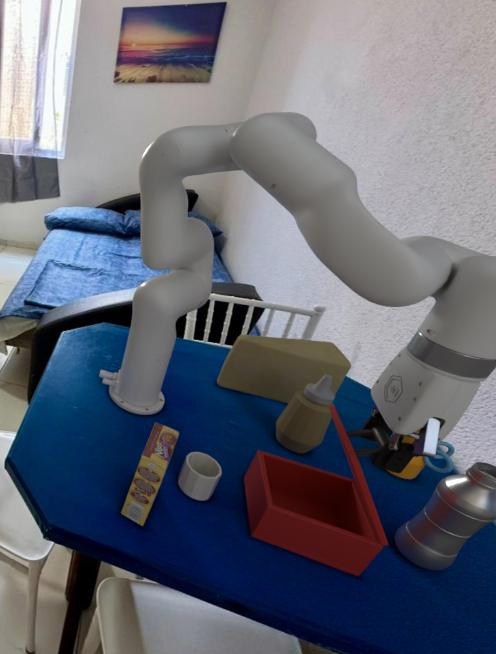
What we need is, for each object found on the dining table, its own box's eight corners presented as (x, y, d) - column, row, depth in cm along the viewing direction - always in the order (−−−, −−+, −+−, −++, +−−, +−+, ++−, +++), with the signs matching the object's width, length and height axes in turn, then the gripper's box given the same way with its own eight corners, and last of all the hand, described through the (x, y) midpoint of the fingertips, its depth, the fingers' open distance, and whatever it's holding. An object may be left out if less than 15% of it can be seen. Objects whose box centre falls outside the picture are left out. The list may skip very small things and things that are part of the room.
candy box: (145, 528, 69) (167, 467, 61) (120, 514, 71) (138, 454, 63) (158, 491, 75) (180, 431, 68) (135, 479, 77) (153, 420, 70)
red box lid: (352, 463, 56) (405, 461, 53) (328, 406, 66) (371, 401, 63) (381, 545, 59) (433, 547, 56) (354, 478, 69) (396, 476, 66)
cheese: (221, 396, 98) (241, 346, 91) (212, 372, 107) (230, 324, 100) (325, 416, 94) (355, 364, 86) (307, 389, 102) (334, 339, 95)
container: (177, 492, 75) (186, 471, 72) (178, 469, 80) (186, 447, 77) (212, 505, 73) (222, 483, 70) (211, 480, 77) (220, 458, 75)
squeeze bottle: (323, 461, 82) (365, 393, 74) (279, 454, 83) (316, 386, 75) (303, 432, 89) (340, 366, 80) (263, 425, 90) (295, 360, 82)
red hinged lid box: (251, 536, 68) (268, 506, 64) (243, 478, 78) (258, 449, 74) (358, 576, 63) (383, 547, 59) (335, 508, 73) (356, 480, 69)
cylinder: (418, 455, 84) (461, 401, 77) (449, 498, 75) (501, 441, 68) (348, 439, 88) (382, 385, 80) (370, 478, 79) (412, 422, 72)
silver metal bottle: (378, 536, 69) (445, 454, 59) (414, 534, 69) (487, 452, 60) (416, 577, 63) (498, 494, 53) (455, 574, 64) (543, 491, 54)
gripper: (388, 315, 59) (331, 408, 68) (444, 384, 46) (365, 489, 54) (455, 328, 57) (388, 423, 65) (537, 406, 43) (437, 512, 52)
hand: (378, 452), depth 60 cm, fingers closed on red box lid, 5 cm apart
